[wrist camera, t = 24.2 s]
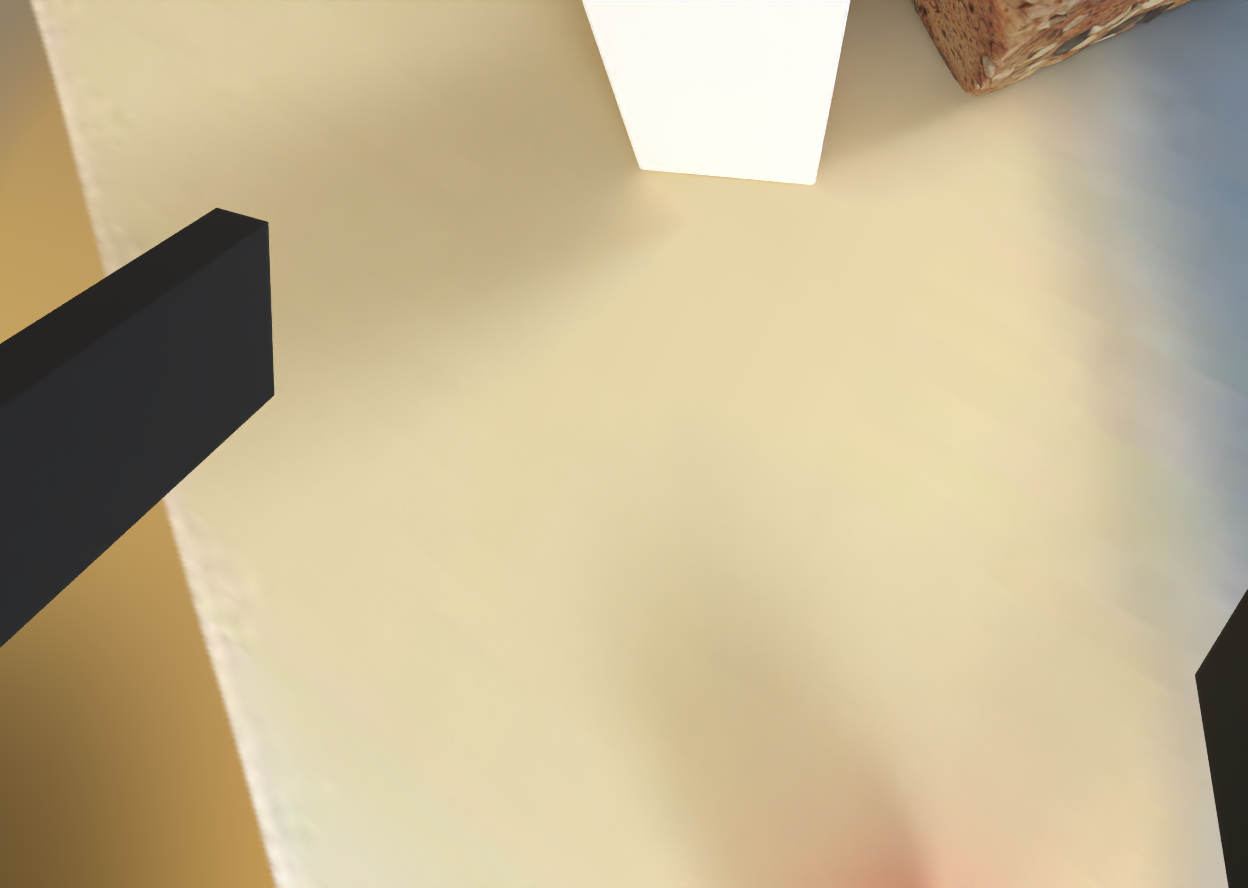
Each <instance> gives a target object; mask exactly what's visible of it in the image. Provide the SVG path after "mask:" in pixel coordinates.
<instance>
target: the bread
mask: <svg viewBox="0 0 1248 888" xmlns="http://www.w3.org/2000/svg"><path fill="white" fill-rule="evenodd" d="M1190 1H1192V0H914V4H915V9H916V12H917V13H918V14H919V15H920V17H921V19H922V21H923V23H924V25H925V27H926V28H927V30H928V32H929V34H930V36H931V38H932V40H933V42H934V43H935V45H936V47H937V49H938V51H939V53H940V55H941V56H942V58H943V60H944V61H945V63H946V65H947V66H948V68H949V70H950V71H951V73H952V75H953V76H954V78H955V79H956V80H957V82H958V83H959V84H960V85H961V87H962V88H963V89H964V90H965V92H966V93H970V94H974V95H981V94H986V93H990V92H993V91H996V90H999V89H1001V88H1004V87H1006V86H1008V85H1011V84H1013V83H1015V82H1017V81H1019V80H1022V79H1024V78H1026V77H1028V76H1030V75H1031V74H1033V73H1034V72H1035V71H1036V70H1037V69H1039V68H1042V67H1046V66H1049V65H1052V64H1055V63H1057V62H1060V61H1062V60H1065V59H1067V58H1069V57H1070V56H1072V55H1074V54H1075V53H1077V52H1079V51H1081V50H1082V49H1084V48H1086V47H1087V46H1089V45H1091V44H1093V43H1096V42H1098V41H1101V40H1104V39H1106V38H1109V37H1112V36H1114V35H1117V34H1119V33H1121V32H1123V31H1125V30H1127V29H1129V28H1131V27H1133V26H1134V25H1135V24H1136V23H1148V22H1149V21H1151V20H1152V19H1153V18H1155V17H1156V16H1158V15H1159V14H1161V13H1162V12H1164V11H1167V10H1170V9H1172V8H1175V7H1177V6H1179V5H1182V4H1184V3H1187V2H1190Z"/></svg>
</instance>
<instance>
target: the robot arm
mask: <svg viewBox="0 0 1248 888" xmlns="http://www.w3.org/2000/svg"><path fill="white" fill-rule="evenodd" d="M273 396H274V373H273V344H272V315H271V286H270V257H269V228H268V222H266V221H263V220H259V219H255V218H252V217H248V216H245V215H241V214H237V213H234V212H230V211H227V210H223V209H219V208H215V209H214V210H212V211H211V212H209V213H208V214H206V215H204V216H203V217H201V218H200V219H198V220H196V221H195V222H193V223H192V224H190V225H188V226H187V227H185V228H184V229H182V230H180V231H179V232H177V233H176V234H174V235H173V236H171V237H169V238H168V239H166V240H165V241H163V242H161V243H160V244H158V245H157V246H155V247H153V248H152V249H150V250H149V251H147V252H146V253H144V254H142V255H141V256H139V257H138V258H136V259H134V260H133V261H131V262H130V263H128V264H126V265H125V266H123V267H122V268H120V269H119V270H117V271H115V272H114V273H112V274H111V275H109V276H107V277H106V278H104V279H103V280H101V281H99V282H98V283H96V284H95V285H93V286H92V287H90V288H88V289H87V290H85V291H84V292H82V293H80V294H79V295H77V296H76V297H74V298H72V299H71V300H69V301H68V302H66V303H64V304H63V305H61V306H60V307H58V308H57V309H55V310H53V311H52V312H51V313H49V314H47V315H45V316H44V317H42V318H41V319H39V320H37V321H36V322H35V323H33V324H31V325H30V326H28V327H26V328H25V329H23V330H22V331H20V332H18V333H17V334H15V335H14V336H12V337H11V338H9V339H7V340H6V341H4V342H3V343H1V344H0V647H1V646H3V645H4V644H5V643H6V642H7V641H8V640H9V639H10V638H11V637H12V636H13V635H14V634H16V632H17V631H19V630H20V629H21V628H22V627H23V626H24V625H25V624H26V623H27V622H29V621H30V620H31V619H32V618H33V617H34V616H35V615H36V614H37V613H38V612H39V611H40V610H41V609H43V608H44V607H45V606H46V605H47V604H48V603H49V602H50V601H51V600H52V599H54V598H55V597H56V596H57V595H58V594H59V593H60V592H61V591H62V590H63V589H64V588H65V587H66V586H68V585H69V584H70V583H71V582H72V581H73V580H74V579H75V578H76V577H77V576H78V575H80V574H81V573H82V572H83V571H84V570H85V569H86V568H87V567H88V566H89V565H90V564H91V563H93V561H95V560H96V559H97V558H98V557H99V556H100V555H101V554H102V553H103V552H104V551H105V550H107V549H108V548H109V547H110V546H111V545H112V544H113V543H114V542H115V541H116V540H118V539H119V538H120V537H121V536H122V535H123V534H124V533H125V532H126V531H127V530H128V529H129V528H131V527H132V526H133V525H134V524H135V523H136V522H137V521H138V520H139V519H140V518H141V517H142V516H144V515H145V514H146V513H147V512H148V511H149V510H150V509H151V508H152V507H153V506H154V505H156V504H157V503H158V502H159V501H160V500H161V499H162V498H163V497H164V496H165V495H166V494H167V493H169V492H170V491H171V490H172V489H173V488H174V487H175V486H176V485H177V484H178V483H179V482H180V481H182V480H183V479H184V478H185V477H186V476H187V475H188V474H189V473H190V472H191V471H192V470H194V469H195V468H196V467H197V466H198V465H199V464H200V463H201V462H202V461H203V460H204V459H205V458H207V457H208V456H209V455H210V454H211V453H212V452H213V451H214V450H215V449H216V448H217V447H218V446H220V445H221V444H222V443H223V442H224V441H225V440H226V439H227V438H228V437H229V436H230V435H231V434H233V433H234V432H235V431H236V430H237V429H238V428H239V427H240V426H241V425H242V424H243V423H245V422H246V421H247V420H248V419H249V418H250V417H251V416H252V415H253V414H254V413H255V412H256V411H258V410H259V409H260V408H261V407H262V406H263V405H264V404H265V403H266V402H267V401H268V400H269V399H271V398H272V397H273ZM1195 678H1196V684H1197V690H1198V697H1199V703H1200V709H1201V716H1202V722H1203V728H1204V735H1205V741H1206V747H1207V754H1208V760H1209V766H1210V773H1211V779H1212V785H1213V792H1214V798H1215V804H1216V811H1217V817H1218V823H1219V830H1220V836H1221V842H1222V849H1223V855H1224V861H1225V867H1226V874H1227V880H1228V886H1229V888H1248V589H1247V591H1246V593H1245V594H1244V596H1243V597H1242V599H1241V601H1240V602H1239V604H1238V606H1237V607H1236V609H1235V611H1234V612H1233V614H1232V615H1231V617H1230V619H1229V620H1228V622H1227V624H1226V625H1225V627H1224V628H1223V630H1222V632H1221V633H1220V635H1219V637H1218V638H1217V640H1216V642H1215V643H1214V645H1213V646H1212V648H1211V650H1210V651H1209V653H1208V655H1207V656H1206V658H1205V659H1204V661H1203V663H1202V664H1201V666H1200V668H1199V669H1198V671H1197V673H1196V674H1195Z"/></svg>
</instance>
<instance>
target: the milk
mask: <svg viewBox="0 0 1248 888" xmlns="http://www.w3.org/2000/svg"><path fill="white" fill-rule="evenodd" d="M582 2H583V5H584V8H585V11H586V14H587V17H588V20H589V23H590V26H591V29H592V32H593V34H594V37H595V40H596V43H597V46H598V49H599V52H600V55H601V58H602V61H603V63H604V66H605V69H606V72H607V75H608V78H609V81H610V84H611V87H612V90H613V93H614V95H615V98H616V101H617V104H618V107H619V110H620V113H621V116H622V119H623V122H624V125H625V127H626V130H627V133H628V136H629V139H630V142H631V145H632V148H633V151H634V154H635V156H636V159H637V162H638V165H639V167H640V169H643V170H654V171H665V172H676V173H687V174H698V175H709V176H720V177H731V178H742V179H753V180H764V181H775V182H787V183H798V184H809V185H813V184H815V182H816V177H817V172H818V167H819V162H820V156H821V151H822V146H823V141H824V136H825V130H826V125H827V120H828V115H829V110H830V104H831V99H832V94H833V89H834V84H835V78H836V73H837V68H838V63H839V57H840V52H841V47H842V42H843V37H844V31H845V26H846V21H847V16H848V11H849V5H850V0H582Z"/></svg>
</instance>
